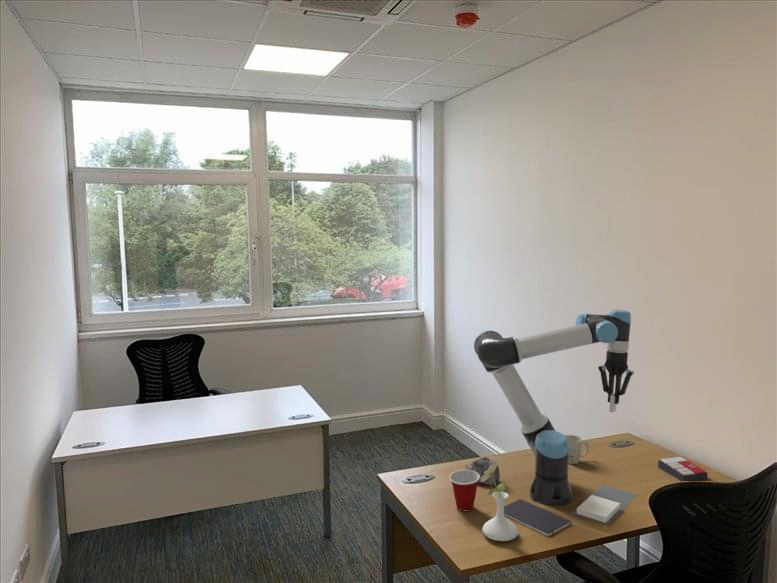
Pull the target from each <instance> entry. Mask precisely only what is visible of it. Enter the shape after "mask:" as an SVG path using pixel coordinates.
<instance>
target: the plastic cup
mask: <svg viewBox="0 0 777 583" xmlns="http://www.w3.org/2000/svg"><path fill="white" fill-rule="evenodd" d="M448 478H449V480H450V482H451V485H452V490H453V495H454V499H455V504H456V505H455V506H456V508H457V510H459V509H461V510H471V509H472V508H473V509H474V505H475V504H474V503H475V500H476V495H477V489H478V488H477V487H478V483H479V482H478V481H479V478H480V475H479V474H478V473H477V472H475V471H471V470H465V469H461V470H455V471H452V472H451V474H449V477H448ZM473 509H472V510H473ZM461 510H460V511H461ZM472 510H471V511H472Z"/></svg>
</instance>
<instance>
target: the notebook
mask: <svg viewBox="0 0 777 583" xmlns="http://www.w3.org/2000/svg"><path fill="white" fill-rule="evenodd" d="M504 515H505V517H506V516H508V517H510V518H512V519H514V520H513V521H515V520H516V521H515V522H517V521H518V522H517V523H519V522H520V523H519V524H521V523H522V524H521V525H523V526H525V527H527V528H530V529H531V530H533V531H535V532H538V533H540V534H542V535H544V536H546V537H547V536H548V537H549V536H553V535H554V533H557V532H559V531H561V530H562V529H564V528H566V527H567V526H569V525H571V524H572V521H571V520H570V519H567V518H565V517H562V516H560V515H558V514H556V513H554V512H552V511H550V510H547V509H544V508H542V507H541V506H538V505H535V504H533V503H531V502H529V501H526V500H524V499H522V498H519V499H517V500H514V501H513V502H510V503H508V504H505V505H504ZM508 517H507V518H508ZM510 518H509V519H510ZM512 519H511V520H512Z"/></svg>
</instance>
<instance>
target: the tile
mask: <svg viewBox="0 0 777 583" xmlns="http://www.w3.org/2000/svg"><path fill="white" fill-rule="evenodd" d="M589 496H590V497H589ZM589 496H588V497H589V498H588V497H587V498H588V499H587V498H586V499H587V500H586V499H585V500H586V501H585V500H584V501H582V503H580V504H581V505H580V504H579V505H580V506H579V505H578V506H579V507H578V506H577V507H578V508H577V507H576V508H577V514H579V515H582V516H585V517H588V518H591V519H594V520H597V521H600V522H603V523H606V522H607V521H608V520H609V519H610V518H611V517H612V516H613V515H614V514H615V513H616V512H617V511H618V510H619V509H620V503H618V502H614V501H611V500H608V499H604V498H601V497H598V496H594V495H592V494H590V495H589Z"/></svg>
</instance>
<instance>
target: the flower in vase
mask: <svg viewBox="0 0 777 583" xmlns="http://www.w3.org/2000/svg"><path fill="white" fill-rule="evenodd" d="M495 462H496V461H495ZM495 462H494V464H493V465H490V466H489V468H488V470H487V471H485V472H484V474H485V475H483V476H482V477H481V478H480V479H481V481H480V482H479V483H482V482H484V481H486V480H487V479H488V478H489V477H490V476H492V478H493V475H492V474H493V472H494V471H495V469H496V467H497V465H498V463H497V462H496V464H495ZM493 480H494V478H493ZM494 483H495V480H494ZM505 490H506V482H505V481H501V483H498V485H497V484H496V483H495V488H492V489H490V490H489V491H488V493H487V496H490V495H492V496H493V498H494V499H495V504H496V514H495V516H494V517H492V518H491V519H489V520H487V521H486V522H485V523H484V524H483V526H482V529H481V530H482V533H483V534H484V535H485V537H486V538H489V539H490V540H493V541H495V542H496V541H497V542H507V541H508V542H509V541H512V540H515V539H516V538H517V537H518V534H519V530H518V527H517V526H516V525H515V524H514V523H513V522H512V521H511V520H509V518H508V517H507V518H506V516H504V506H505V505H506V501H507V499H508V497H509V494H508V493H507V492H505Z"/></svg>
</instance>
